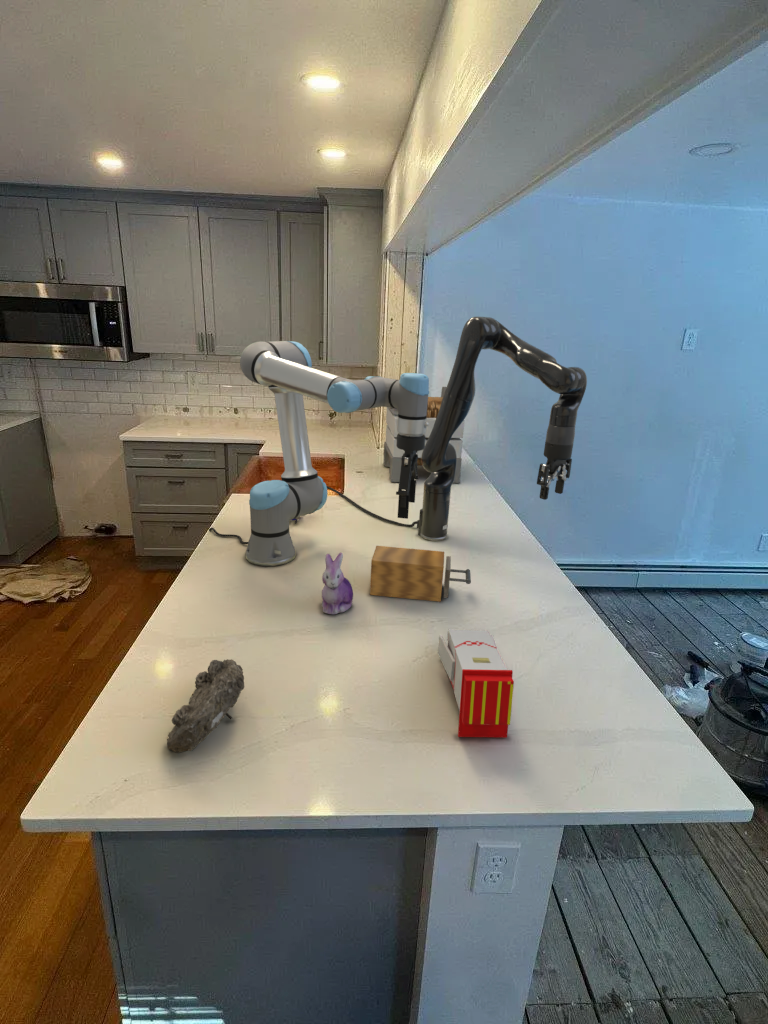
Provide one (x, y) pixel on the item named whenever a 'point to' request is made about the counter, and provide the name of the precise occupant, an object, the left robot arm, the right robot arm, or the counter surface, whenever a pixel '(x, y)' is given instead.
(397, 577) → the cabinet
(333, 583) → the figurine
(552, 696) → the counter surface
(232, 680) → the fossil
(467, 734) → the toy
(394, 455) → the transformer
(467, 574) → the drawer
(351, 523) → the counter surface
